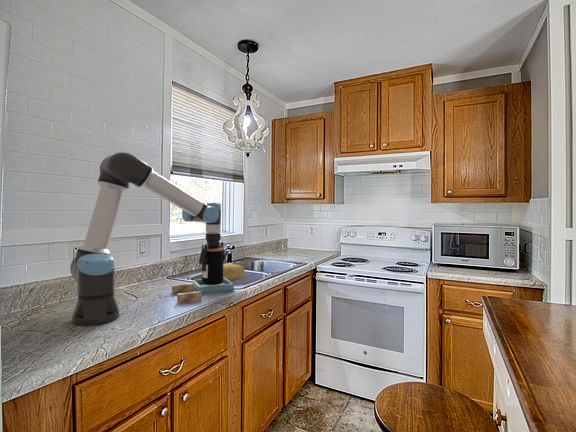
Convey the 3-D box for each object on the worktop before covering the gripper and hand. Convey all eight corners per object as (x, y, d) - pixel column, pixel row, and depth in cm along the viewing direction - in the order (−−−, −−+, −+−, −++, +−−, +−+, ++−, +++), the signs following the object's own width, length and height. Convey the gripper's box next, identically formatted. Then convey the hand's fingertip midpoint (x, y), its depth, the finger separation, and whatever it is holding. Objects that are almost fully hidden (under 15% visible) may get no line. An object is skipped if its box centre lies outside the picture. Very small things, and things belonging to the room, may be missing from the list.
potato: (222, 277, 191) (222, 262, 191) (245, 279, 188) (246, 263, 188) (215, 281, 182) (215, 264, 181) (239, 283, 178) (239, 266, 178)
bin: (199, 294, 155) (199, 287, 155) (192, 286, 170) (192, 280, 170) (233, 290, 162) (233, 284, 162) (224, 283, 178) (224, 277, 177)
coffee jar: (219, 279, 173) (220, 246, 173) (225, 284, 164) (226, 248, 163) (199, 281, 168) (200, 247, 168) (204, 286, 159) (205, 249, 158)
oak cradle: (177, 303, 140) (178, 294, 140) (171, 293, 157) (171, 284, 156) (201, 301, 144) (201, 292, 144) (192, 290, 161) (193, 283, 161)
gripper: (203, 234, 153) (202, 280, 154) (233, 231, 174) (232, 272, 174) (191, 233, 157) (190, 278, 157) (221, 231, 177) (221, 271, 178)
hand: (212, 275), depth 166 cm, fingers closed on coffee jar, 11 cm apart
